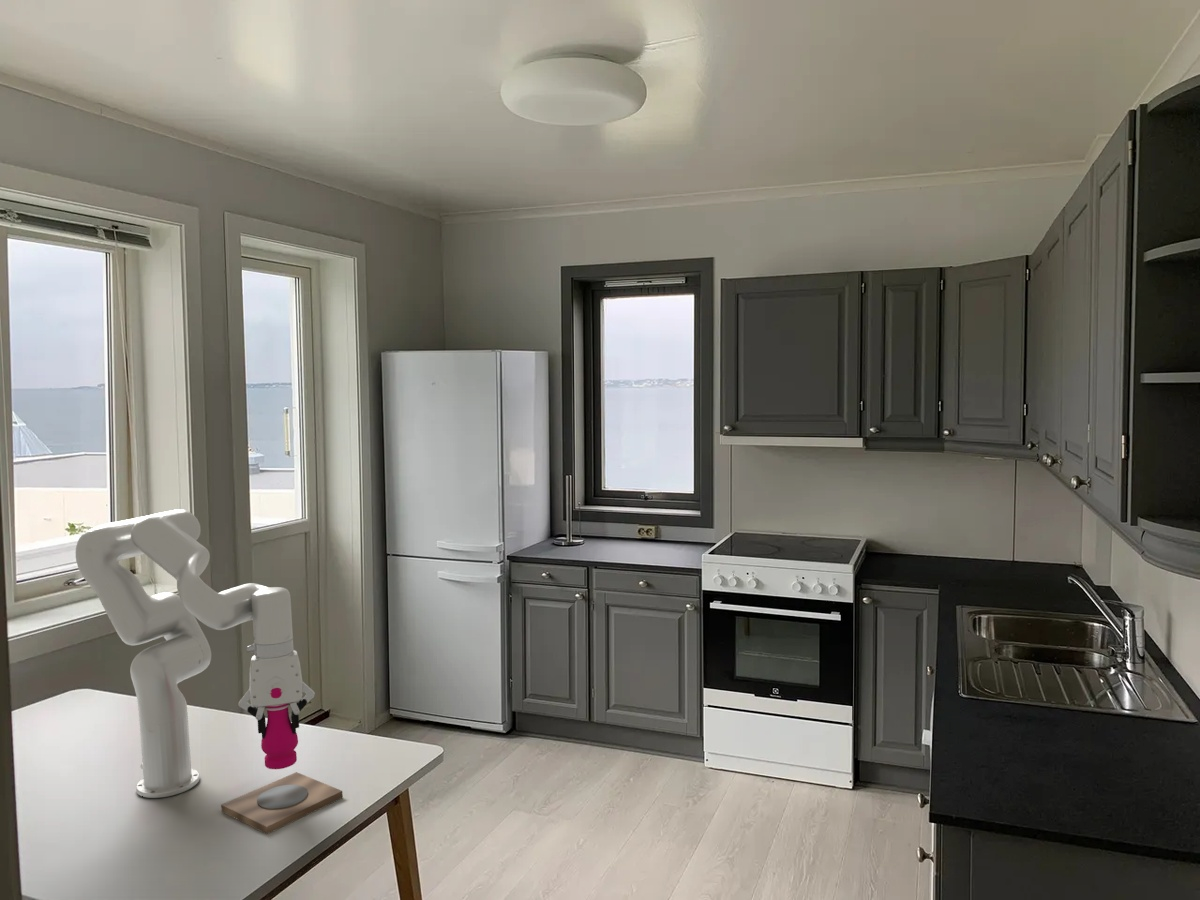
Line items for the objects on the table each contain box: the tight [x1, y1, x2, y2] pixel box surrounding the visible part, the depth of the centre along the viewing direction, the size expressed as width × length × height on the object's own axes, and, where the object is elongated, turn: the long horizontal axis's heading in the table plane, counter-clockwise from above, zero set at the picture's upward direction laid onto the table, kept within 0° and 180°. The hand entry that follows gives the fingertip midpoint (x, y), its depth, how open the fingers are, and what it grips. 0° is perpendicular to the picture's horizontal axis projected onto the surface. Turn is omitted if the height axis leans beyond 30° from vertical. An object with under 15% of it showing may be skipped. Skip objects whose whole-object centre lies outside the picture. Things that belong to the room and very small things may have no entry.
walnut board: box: [220, 771, 344, 835], centre depth 188 cm, size 16×18×2 cm
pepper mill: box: [260, 688, 299, 770], centre depth 186 cm, size 7×7×20 cm
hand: (279, 732), depth 187 cm, fingers closed on pepper mill, 5 cm apart
